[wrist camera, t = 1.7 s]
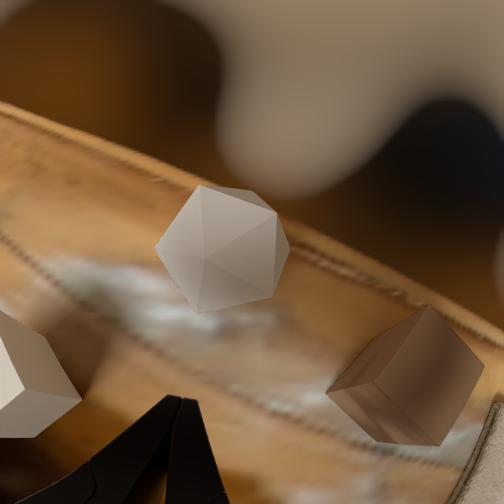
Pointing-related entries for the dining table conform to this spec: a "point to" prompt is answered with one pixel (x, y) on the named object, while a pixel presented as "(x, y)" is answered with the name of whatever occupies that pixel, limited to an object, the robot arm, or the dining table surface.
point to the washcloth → (485, 465)
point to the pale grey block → (30, 382)
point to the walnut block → (409, 381)
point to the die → (224, 248)
